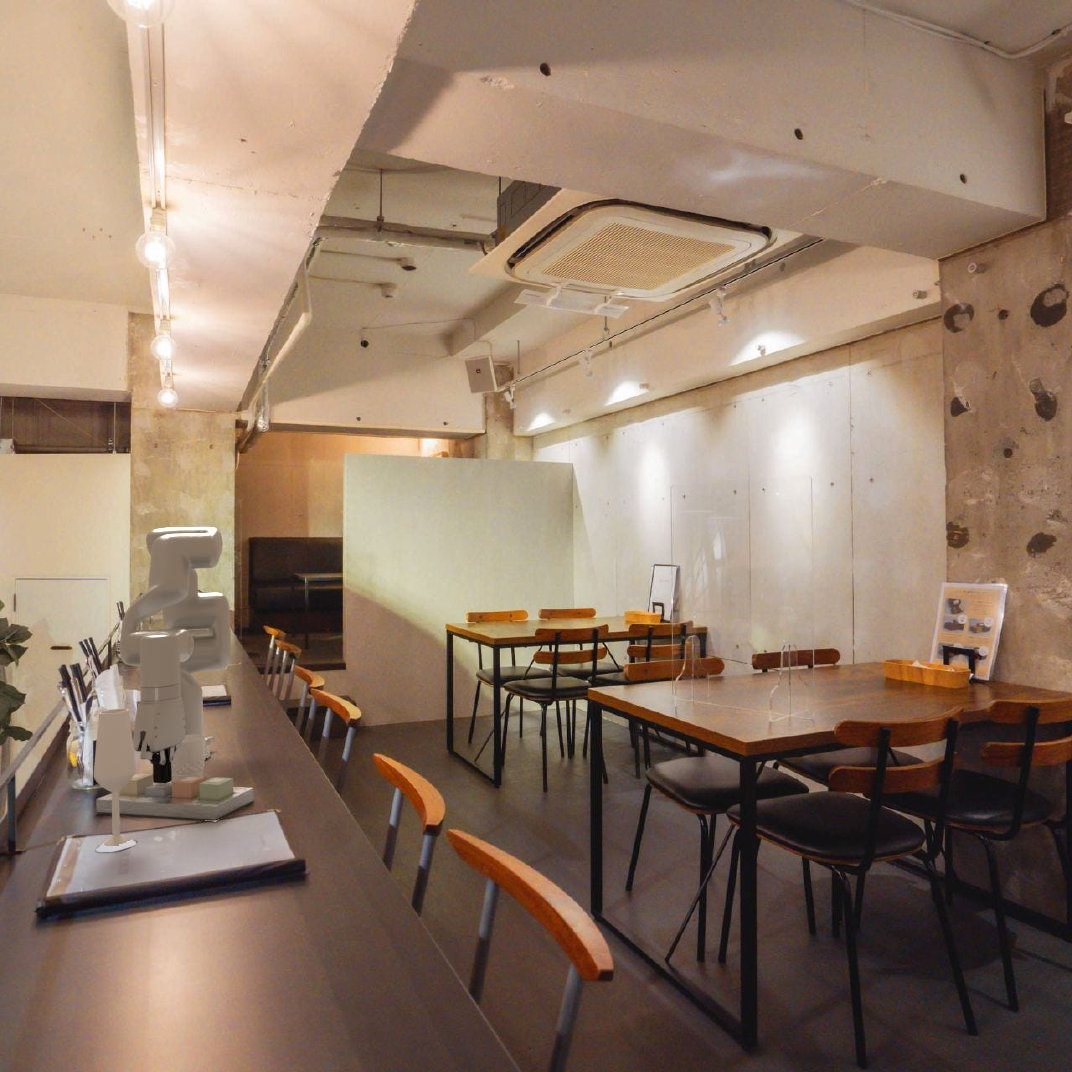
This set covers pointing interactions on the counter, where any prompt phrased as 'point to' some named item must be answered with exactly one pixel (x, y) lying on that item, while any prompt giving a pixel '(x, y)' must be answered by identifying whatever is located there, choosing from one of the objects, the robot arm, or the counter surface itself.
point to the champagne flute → (114, 762)
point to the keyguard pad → (177, 806)
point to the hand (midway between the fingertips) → (162, 781)
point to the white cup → (189, 758)
